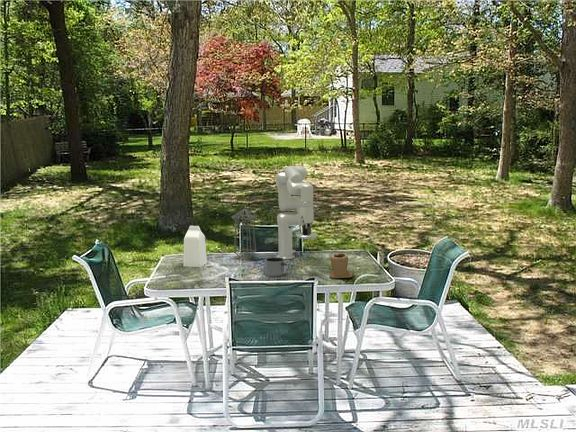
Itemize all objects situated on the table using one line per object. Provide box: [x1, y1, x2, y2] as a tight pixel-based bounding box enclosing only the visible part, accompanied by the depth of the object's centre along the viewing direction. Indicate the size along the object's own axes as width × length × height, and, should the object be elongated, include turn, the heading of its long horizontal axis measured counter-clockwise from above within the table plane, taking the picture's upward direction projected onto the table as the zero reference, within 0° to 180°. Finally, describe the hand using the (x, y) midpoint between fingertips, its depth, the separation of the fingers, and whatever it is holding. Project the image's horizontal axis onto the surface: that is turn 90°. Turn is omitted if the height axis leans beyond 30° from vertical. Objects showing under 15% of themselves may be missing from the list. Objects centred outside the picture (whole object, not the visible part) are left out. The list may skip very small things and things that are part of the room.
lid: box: [295, 226, 319, 240], centre depth 340 cm, size 14×14×7 cm
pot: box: [262, 256, 288, 277], centre depth 342 cm, size 12×17×9 cm
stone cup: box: [328, 252, 354, 279], centre depth 332 cm, size 15×12×15 cm
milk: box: [182, 225, 208, 268], centre depth 366 cm, size 12×12×26 cm
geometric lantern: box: [231, 208, 259, 261], centre depth 383 cm, size 16×16×35 cm
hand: (306, 233), depth 340 cm, fingers closed on lid, 3 cm apart
